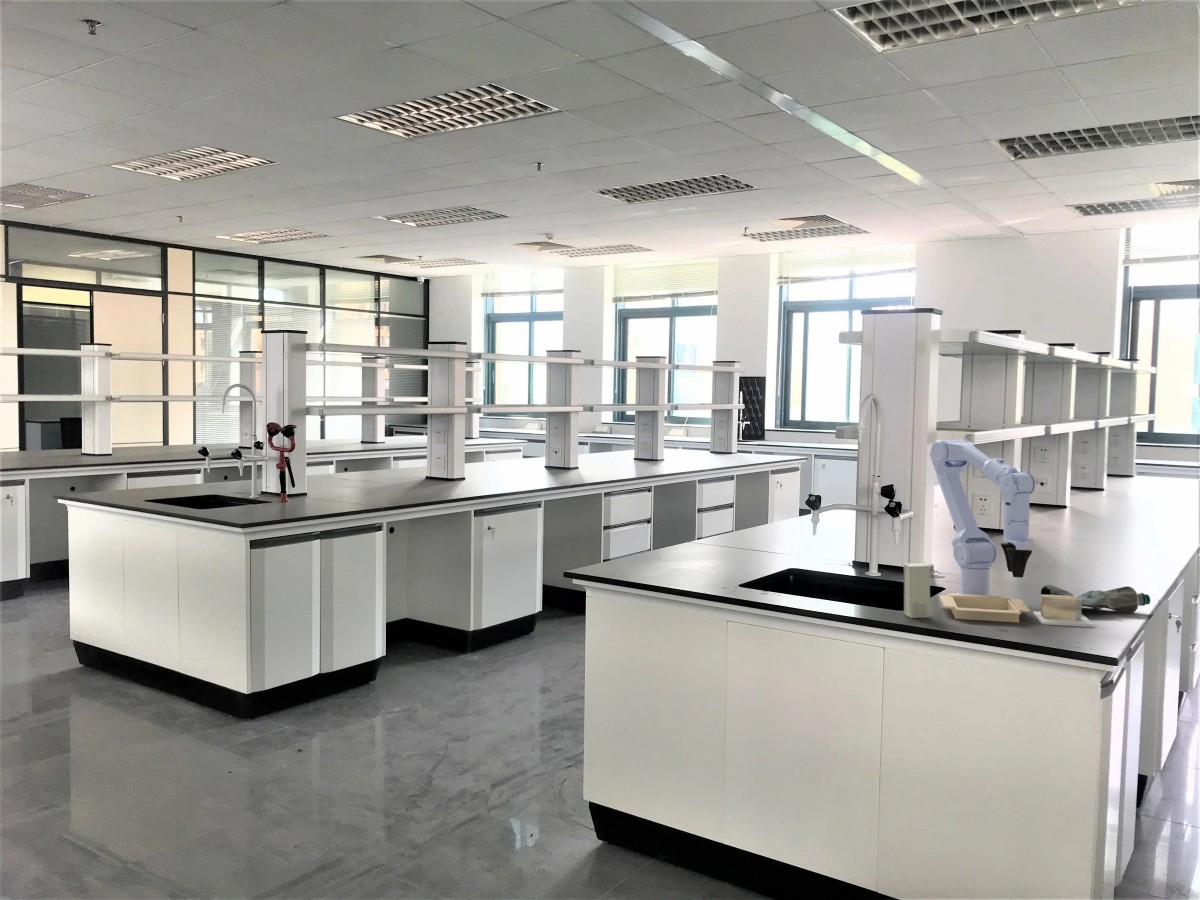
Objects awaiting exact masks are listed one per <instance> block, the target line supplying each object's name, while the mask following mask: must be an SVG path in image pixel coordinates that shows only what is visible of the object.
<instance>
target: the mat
mask: <svg viewBox="0 0 1200 900" xmlns="http://www.w3.org/2000/svg"><path fill="white" fill-rule="evenodd" d="M1032 612H1033V615H1034V616H1035V618H1036V619H1037V620H1038V622H1039V623H1040V624H1041V625H1048V626H1049V625H1050V626H1052V625H1053V626H1064V627H1065V626H1068V627H1080V628H1081V627H1084V628H1094V627H1095V625H1094V623H1093V622H1091V620H1089V619H1088V618H1087V617H1086V616H1085V615H1084V614H1083V613H1081V621H1077V620H1060V619H1044V618H1043V617H1042V616H1041V611H1034V610H1033V611H1032Z"/></svg>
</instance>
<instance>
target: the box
mask: <svg viewBox="0 0 1200 900" xmlns="http://www.w3.org/2000/svg"><path fill="white" fill-rule="evenodd" d="M930 570H931V566H929V565H928V564H925V563H921V562H920V563H917V562H916V563H903V614H904V615H905V616H907V617H908V618H910V619H919V618H920V619H921V618H922V619H924V618H925V619H926V618H931V571H930Z"/></svg>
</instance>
